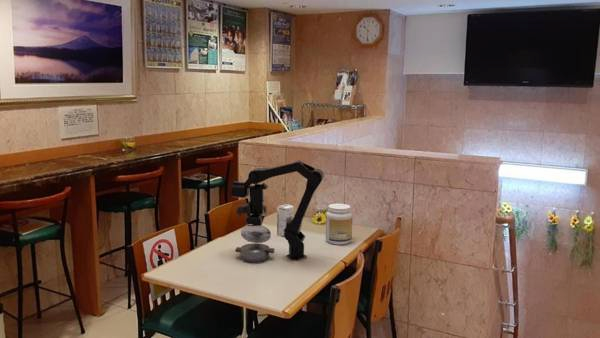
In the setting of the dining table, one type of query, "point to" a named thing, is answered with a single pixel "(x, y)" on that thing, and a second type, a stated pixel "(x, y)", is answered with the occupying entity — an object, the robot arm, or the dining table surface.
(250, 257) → the cooker pot
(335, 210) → the supplement tub
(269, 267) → the dining table surface
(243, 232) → the cooker lid
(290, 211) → the syrup box
